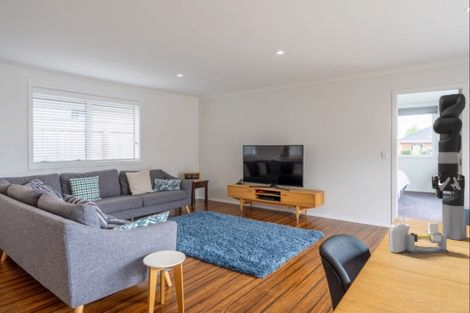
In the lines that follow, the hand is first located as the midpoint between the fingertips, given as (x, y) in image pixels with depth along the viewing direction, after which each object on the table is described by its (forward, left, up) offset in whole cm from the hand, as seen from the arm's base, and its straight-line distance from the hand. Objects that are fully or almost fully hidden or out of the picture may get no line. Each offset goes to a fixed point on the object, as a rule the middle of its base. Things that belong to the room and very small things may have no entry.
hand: (448, 198), depth 130 cm
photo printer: (+22, -2, -24) cm, 33 cm away
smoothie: (+15, -10, -24) cm, 30 cm away
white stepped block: (+7, 0, -19) cm, 21 cm away
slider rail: (+11, 0, -24) cm, 26 cm away
